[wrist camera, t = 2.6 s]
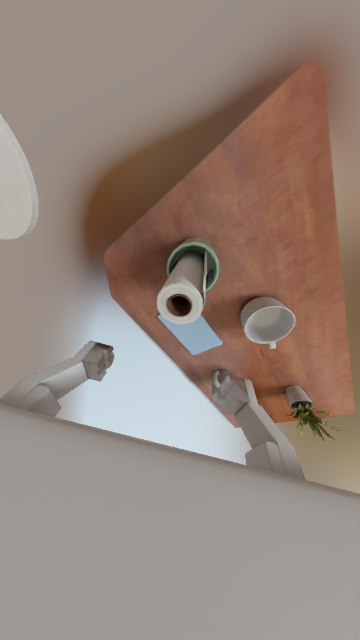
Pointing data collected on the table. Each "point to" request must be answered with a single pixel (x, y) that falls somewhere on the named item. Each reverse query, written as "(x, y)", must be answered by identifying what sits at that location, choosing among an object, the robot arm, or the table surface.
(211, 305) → the table surface
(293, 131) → the table surface
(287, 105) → the table surface
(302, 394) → the house plant
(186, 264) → the paper towel roll
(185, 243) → the sage green pencil cup
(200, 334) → the mat
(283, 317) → the teacup
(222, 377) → the mug
